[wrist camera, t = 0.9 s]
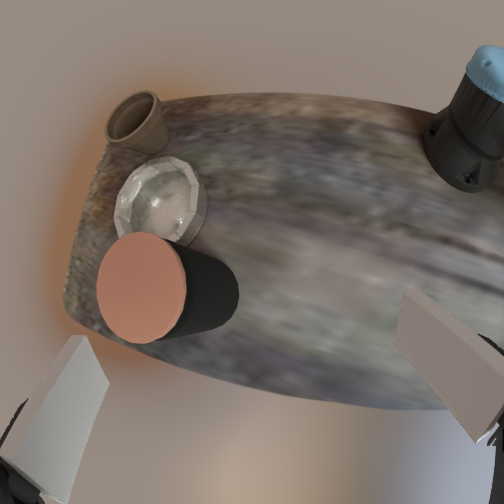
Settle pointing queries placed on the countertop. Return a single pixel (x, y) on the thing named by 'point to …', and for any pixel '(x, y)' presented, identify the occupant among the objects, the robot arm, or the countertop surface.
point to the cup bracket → (162, 201)
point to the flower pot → (138, 124)
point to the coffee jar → (162, 289)
